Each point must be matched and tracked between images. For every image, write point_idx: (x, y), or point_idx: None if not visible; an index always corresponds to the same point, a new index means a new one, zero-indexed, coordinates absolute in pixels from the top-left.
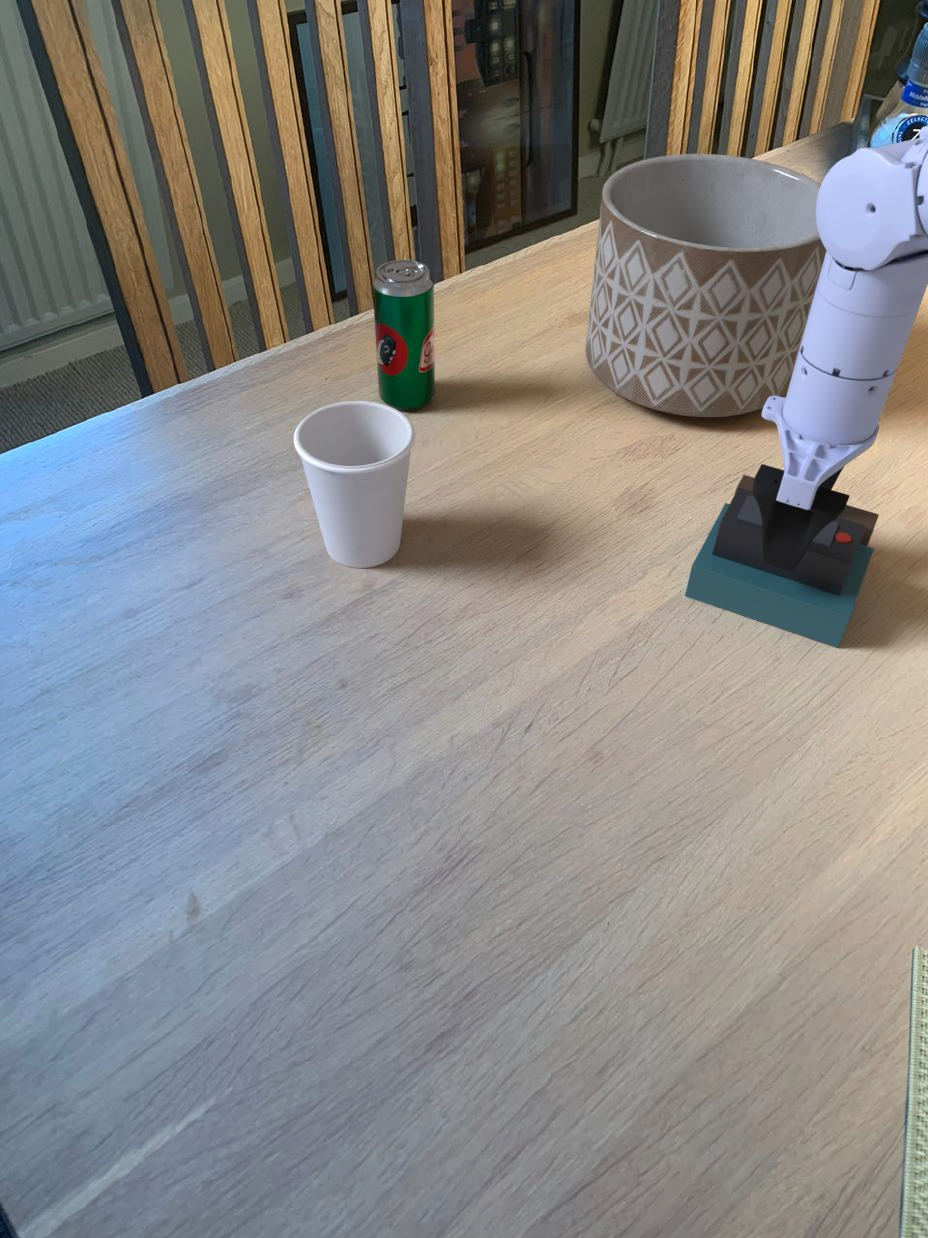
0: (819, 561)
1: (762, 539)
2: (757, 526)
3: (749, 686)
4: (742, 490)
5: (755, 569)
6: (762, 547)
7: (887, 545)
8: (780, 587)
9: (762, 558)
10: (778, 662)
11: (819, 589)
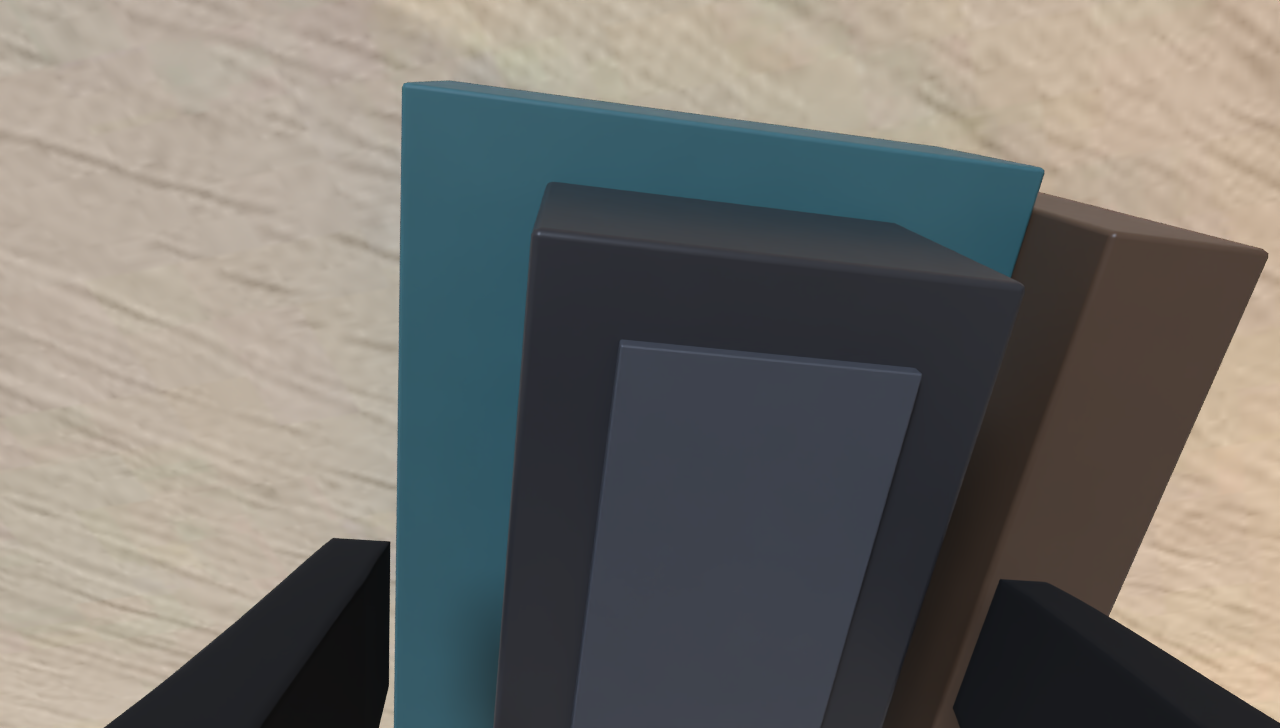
0: None
1: (218, 639)
2: (589, 487)
3: (69, 430)
4: (985, 321)
5: None
6: (265, 596)
7: None
8: (442, 536)
9: (326, 544)
10: (256, 499)
11: None
